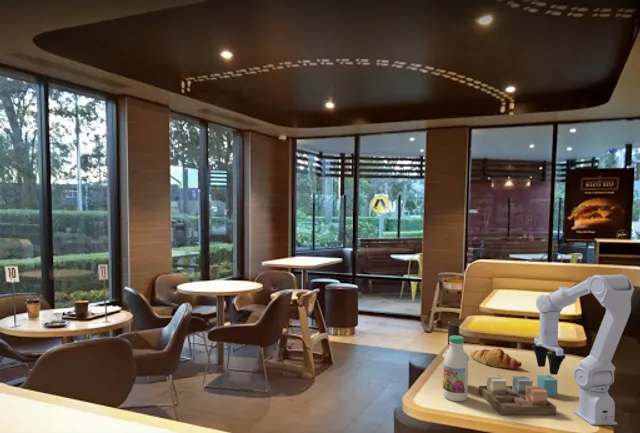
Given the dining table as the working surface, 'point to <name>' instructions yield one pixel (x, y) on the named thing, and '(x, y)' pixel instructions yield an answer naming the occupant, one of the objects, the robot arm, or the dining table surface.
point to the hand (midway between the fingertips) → (547, 370)
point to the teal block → (547, 384)
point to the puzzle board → (516, 396)
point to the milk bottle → (455, 371)
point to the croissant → (495, 358)
